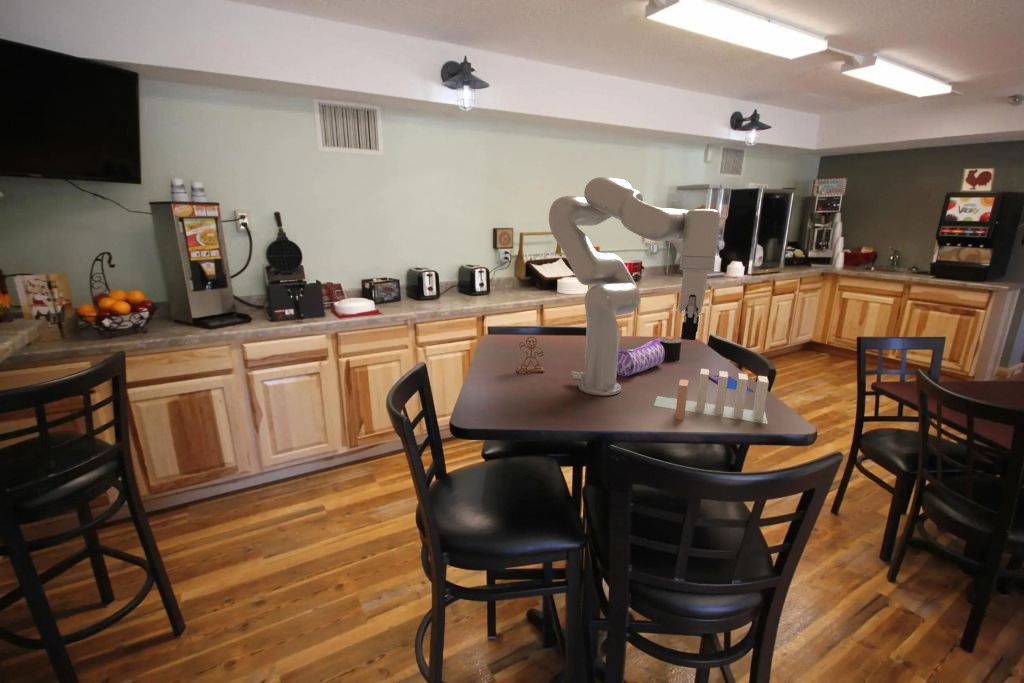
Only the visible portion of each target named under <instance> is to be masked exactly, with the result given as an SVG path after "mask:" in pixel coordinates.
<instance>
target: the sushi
mask: <svg viewBox="0 0 1024 683" xmlns="http://www.w3.org/2000/svg"><path fill="white" fill-rule="evenodd" d="M656 339H660V340H662V341H661V342H660V344H661V345H662V346H663V348H664V351H665V356H664V360H663V361H665V362H666V361H667V362H673V361H674V362H675V360H677V361H679V360H680V359H681V349H682V340H683V339H681V338H679V337H674V336H670V335H669V336H660V337H657V338H656Z"/></svg>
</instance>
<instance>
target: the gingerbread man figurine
mask: <svg viewBox="0 0 1024 683" xmlns="http://www.w3.org/2000/svg"><path fill="white" fill-rule="evenodd" d="M531 338H533V339H532V340H531ZM534 339H535V340H534ZM530 343H532V344H530ZM521 344H522V345H521ZM537 344H538V341H537V338H536V337H535V336H529V337H527V338H526V339H525V342H524V341H521V342H520V343H519V346H518V347H519V349H520V350H521V351H522V352H523V353H526V358H525V360H524V361H523V363H522V364H521V365H520V366H519V367H516V371H517V370H518V371H517V373H518V372H545V373H546V371H545V368H544V367H543V366H541V365H540V363H539V361H538V360H537V356H538V357H540V358H542V357H543V356H544V351H543V349H542V348H541V347H540V346H537ZM522 347H525V348H526V349H527V348H528V350H529V352H530V354H529V355H528V351H527V350H526V351H525V350H523V349H522ZM535 348H538V349H539V350H541V351H539V352H538V351H536V350H535ZM534 350H535V351H534ZM533 351H534V356H532V355H533ZM536 354H537V355H536ZM540 354H541V355H540ZM528 359H530V361H529V362H528V363H527V365H526V364H525V362H527V360H528ZM532 359H535V361H536V362H537V364H534V363H533V361H532ZM530 364H532V366H530Z"/></svg>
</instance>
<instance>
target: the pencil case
mask: <svg viewBox="0 0 1024 683" xmlns="http://www.w3.org/2000/svg"><path fill="white" fill-rule="evenodd" d="M661 341H662V340H660V339H657V338H654V340H650V341H649V340H648V341H647V343H645V344H643V345H642V346H639V347H635V348H631V349H629V348H627V349H623V348H621V349H620V350H618V363H617V375H619V376H621V375H622V377H629V376H631V375H634V374H637V373H642V372H644V371H646V370H648V369H650V368H653V367H655V366H657V365H660V364H661V363H662V362H664V361H665V360H664V356H665V351H664V348H663V346H662V345H661V344H660V342H661Z"/></svg>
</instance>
